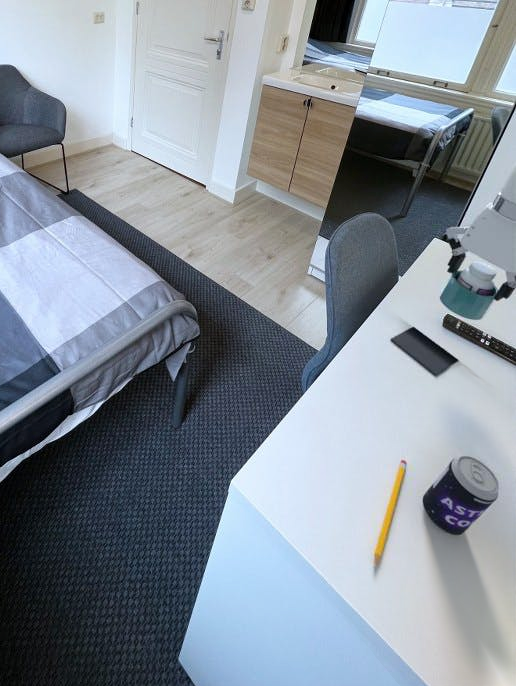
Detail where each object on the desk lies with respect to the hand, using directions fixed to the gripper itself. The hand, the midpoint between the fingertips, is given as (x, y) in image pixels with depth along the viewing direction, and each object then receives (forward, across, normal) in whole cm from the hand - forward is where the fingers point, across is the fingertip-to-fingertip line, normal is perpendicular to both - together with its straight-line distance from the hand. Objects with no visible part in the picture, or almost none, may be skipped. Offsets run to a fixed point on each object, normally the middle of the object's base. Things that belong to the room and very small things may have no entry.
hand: (474, 283), depth 83 cm
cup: (+6, 0, 0) cm, 6 cm away
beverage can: (+21, -18, +31) cm, 42 cm away
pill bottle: (+6, 0, 0) cm, 6 cm away
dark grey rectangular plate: (+21, +2, -2) cm, 21 cm away
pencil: (+21, -14, +38) cm, 45 cm away
